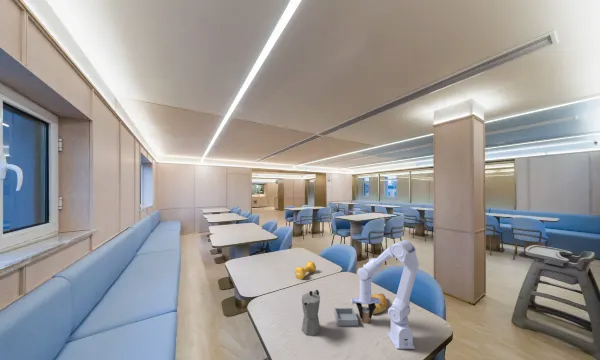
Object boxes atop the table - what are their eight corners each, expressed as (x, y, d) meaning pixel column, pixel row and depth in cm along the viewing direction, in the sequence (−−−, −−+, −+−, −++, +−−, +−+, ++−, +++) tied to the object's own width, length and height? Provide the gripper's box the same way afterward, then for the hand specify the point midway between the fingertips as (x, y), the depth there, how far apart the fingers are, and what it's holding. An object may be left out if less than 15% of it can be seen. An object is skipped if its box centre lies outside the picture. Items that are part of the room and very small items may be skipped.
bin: (358, 326, 100) (358, 320, 101) (338, 326, 100) (337, 320, 100) (352, 313, 110) (352, 308, 111) (334, 313, 110) (334, 308, 110)
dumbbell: (303, 281, 149) (303, 269, 149) (293, 277, 154) (293, 266, 154) (317, 272, 164) (317, 262, 164) (307, 269, 169) (307, 259, 170)
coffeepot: (314, 342, 90) (314, 300, 91) (295, 334, 95) (295, 295, 95) (326, 321, 104) (326, 285, 104) (310, 316, 108) (310, 281, 109)
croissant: (377, 324, 107) (384, 313, 105) (360, 309, 113) (367, 298, 110) (387, 304, 124) (393, 295, 122) (372, 292, 130) (378, 283, 127)
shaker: (370, 323, 102) (370, 311, 103) (362, 323, 102) (362, 311, 103) (368, 318, 107) (367, 306, 107) (360, 318, 107) (360, 306, 107)
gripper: (376, 286, 109) (376, 312, 109) (349, 286, 109) (349, 312, 108) (381, 293, 102) (381, 321, 102) (352, 293, 102) (353, 321, 101)
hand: (365, 317), depth 105 cm, fingers closed on shaker, 4 cm apart
